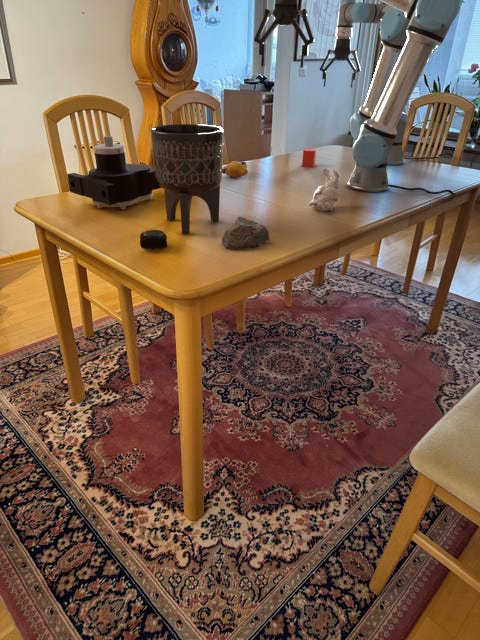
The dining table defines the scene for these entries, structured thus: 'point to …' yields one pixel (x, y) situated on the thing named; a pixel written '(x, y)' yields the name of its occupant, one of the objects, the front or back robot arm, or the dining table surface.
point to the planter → (188, 167)
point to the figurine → (326, 192)
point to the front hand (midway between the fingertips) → (282, 67)
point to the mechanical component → (114, 178)
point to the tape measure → (153, 239)
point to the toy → (235, 169)
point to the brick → (309, 157)
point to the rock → (245, 234)
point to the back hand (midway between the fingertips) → (338, 87)
